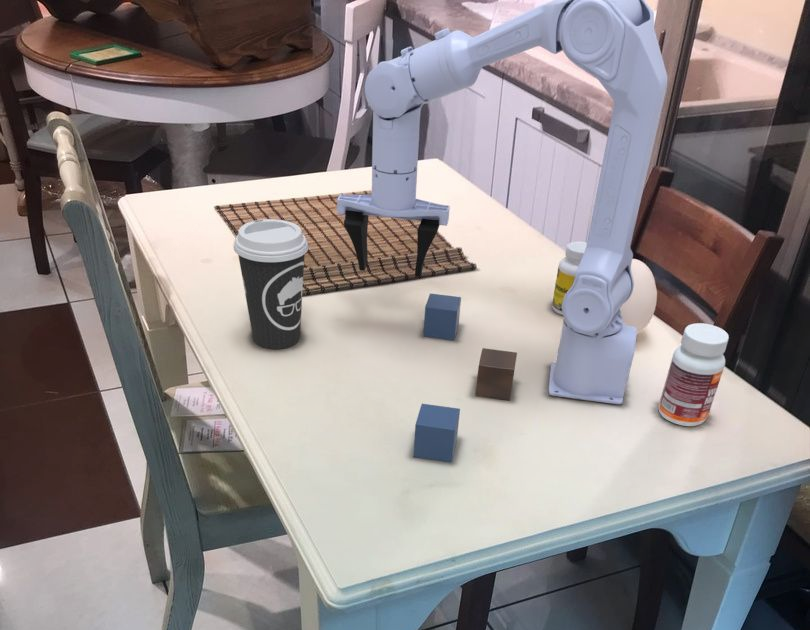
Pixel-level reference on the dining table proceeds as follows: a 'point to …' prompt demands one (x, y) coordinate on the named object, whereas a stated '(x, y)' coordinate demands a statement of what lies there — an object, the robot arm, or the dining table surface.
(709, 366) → the pill bottle
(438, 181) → the dining table surface
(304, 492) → the dining table surface
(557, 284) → the supplement bottle
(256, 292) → the coffee cup
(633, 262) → the egg
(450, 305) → the blue block far
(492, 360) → the walnut block
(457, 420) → the blue block near
